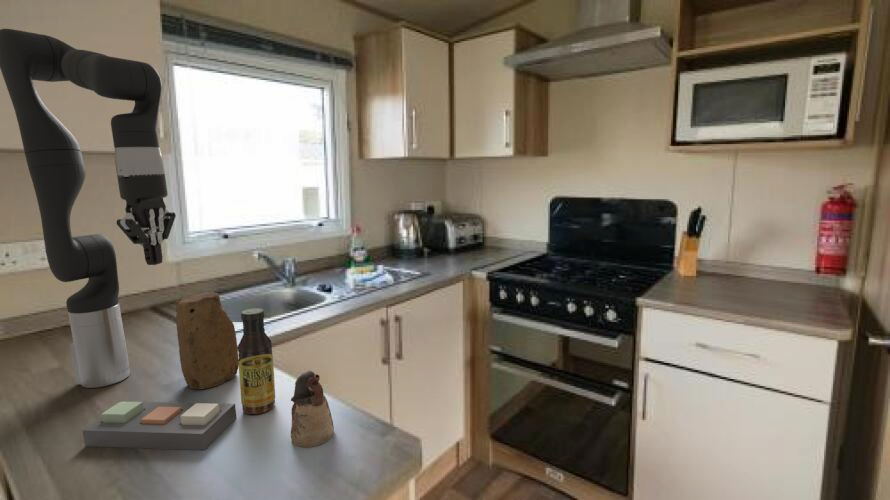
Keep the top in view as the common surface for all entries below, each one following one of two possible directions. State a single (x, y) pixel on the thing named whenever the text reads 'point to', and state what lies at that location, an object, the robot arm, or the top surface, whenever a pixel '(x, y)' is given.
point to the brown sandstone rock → (205, 341)
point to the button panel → (160, 430)
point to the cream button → (200, 414)
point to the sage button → (122, 412)
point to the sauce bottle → (255, 364)
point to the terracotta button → (161, 415)
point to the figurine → (310, 412)
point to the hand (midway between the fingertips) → (154, 264)
